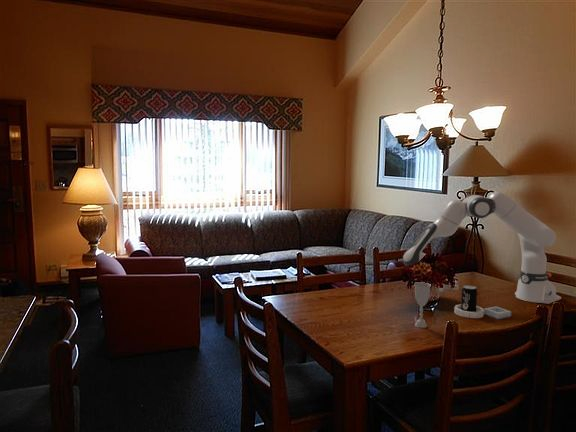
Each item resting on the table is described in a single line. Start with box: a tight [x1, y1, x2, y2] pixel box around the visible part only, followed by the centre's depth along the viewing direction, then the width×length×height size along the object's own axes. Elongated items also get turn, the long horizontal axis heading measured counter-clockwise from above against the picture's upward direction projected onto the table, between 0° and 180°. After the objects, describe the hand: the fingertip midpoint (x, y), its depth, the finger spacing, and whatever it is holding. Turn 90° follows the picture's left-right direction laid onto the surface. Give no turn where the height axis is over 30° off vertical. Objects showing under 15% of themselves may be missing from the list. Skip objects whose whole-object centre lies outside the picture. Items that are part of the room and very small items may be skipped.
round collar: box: [453, 303, 485, 319], centre depth 204 cm, size 12×12×2 cm
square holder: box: [483, 305, 512, 320], centre depth 202 cm, size 8×8×2 cm
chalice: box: [413, 282, 431, 328], centre depth 188 cm, size 7×7×18 cm
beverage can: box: [460, 284, 478, 312], centre depth 204 cm, size 7×7×12 cm
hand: (450, 289), depth 214 cm, fingers open, 8 cm apart
